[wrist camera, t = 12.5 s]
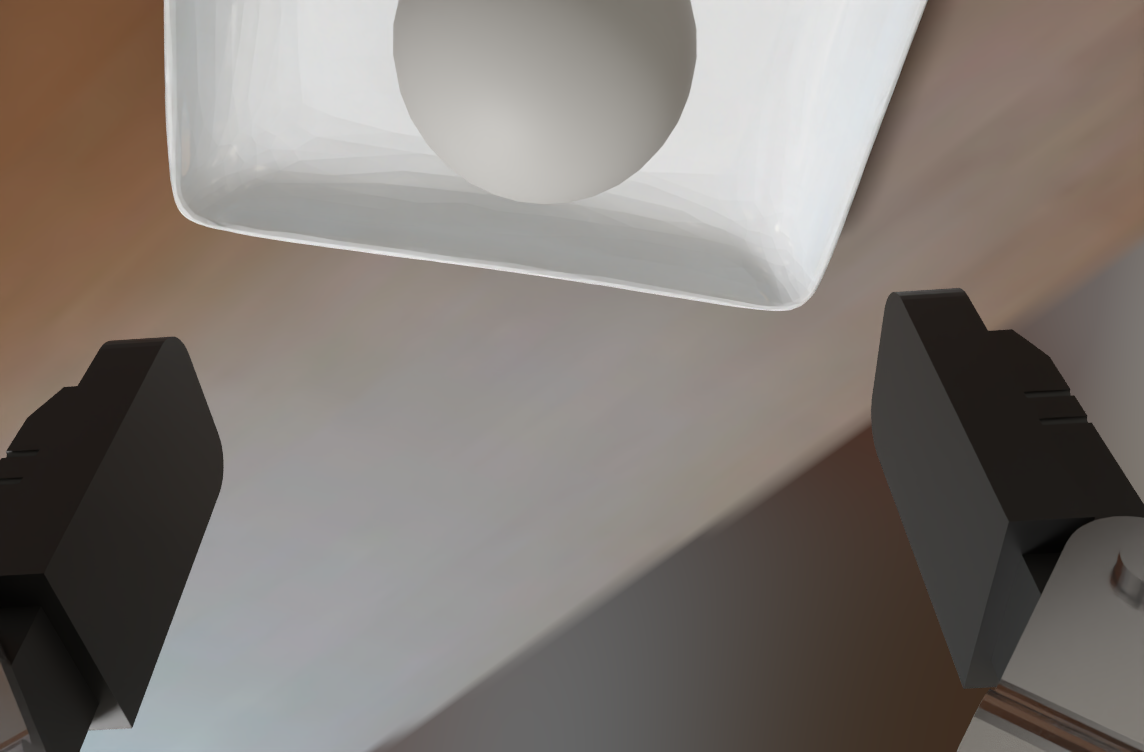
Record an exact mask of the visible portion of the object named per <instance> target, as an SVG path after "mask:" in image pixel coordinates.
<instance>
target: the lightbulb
mask: <svg viewBox="0 0 1144 752" xmlns="http://www.w3.org/2000/svg"><path fill="white" fill-rule="evenodd" d="M393 57H394V62H395V67H396V73H397V78H398V83H399V89H400V93H401V95H402V98H403V100H404V103H405V105H406V108H407V110H408V113H409V115H410V118H411V120H412V121H413V123H414V124H415V126H416V128H417V129H418V131H419V132H420V134H421V135H422V137H423V138H424V140H425V142H426V143H427V144H428V146H429V147H430V148H431V149H432V150H433V151H434V152H435V153H436V155H437V156H438V157H439V158H440V159H441V160H442V161H443V162H444V163H445V164H446V165H447V166H448V167H449V168H450V169H451V170H453V171H454V172H455V173H457V174H458V175H460V176H461V177H462V178H464V179H465V180H466V181H468V182H469V183H471V184H473V185H475V186H477V187H479V188H481V189H483V190H485V191H487V192H489V193H491V194H493V195H497V196H500V197H504V198H507V199H511V200H514V201H518V202H526V203H536V204H555V203H568V202H573V201H577V200H581V199H585V198H589V197H593V196H596V195H598V194H600V193H602V192H604V191H607V190H609V189H611V188H613V187H615V186H617V185H619V184H621V183H622V182H623V181H625V180H626V179H628V178H629V177H631V176H632V175H633V174H635V173H636V172H638V171H639V170H640V169H641V168H642V167H643V166H644V165H645V164H646V163H647V162H648V161H649V160H650V159H651V158H652V157H653V156H654V155H655V154H656V153H657V152H658V150H659V149H660V148H661V147H662V146H663V145H664V143H665V142H666V140H667V139H668V137H669V136H670V134H671V132H672V131H673V129H674V128H675V126H676V125H677V123H678V121H679V119H680V117H681V114H682V112H683V109H684V107H685V104H686V102H687V99H688V97H689V93H690V89H691V85H692V80H693V75H694V69H695V64H696V59H697V41H696V25H695V20H694V15H693V10H692V5H691V1H690V0H399V1H398V5H397V10H396V15H395V19H394V24H393Z"/></svg>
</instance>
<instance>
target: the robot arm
mask: <svg viewBox="0 0 1144 752" xmlns="http://www.w3.org/2000/svg"><path fill="white" fill-rule="evenodd" d="M871 419H872V431H873V438H874V444H875V448H876V451H877V455H878V457H879V460H880V463H881V466H882V469H883V471H884V474H885V477H886V479H887V482H888V485H889V488H890V490H891V493H892V496H893V498H894V501H895V504H896V506H897V509H898V512H899V514H900V517H901V520H902V523H903V525H904V528H905V531H906V534H907V536H908V539H909V542H910V544H911V547H912V550H913V553H914V555H915V558H916V560H917V563H918V566H919V569H920V572H921V574H922V577H923V579H924V582H925V585H926V587H927V591H928V593H929V596H930V598H931V601H932V604H933V607H934V610H935V612H936V615H937V617H938V620H939V623H940V626H941V629H942V631H943V634H944V637H945V639H946V642H947V645H948V647H949V650H950V653H951V656H952V658H953V661H954V664H955V666H956V669H957V672H958V675H959V677H960V680H961V683H962V685H963V688H964V689H965V688H984V687H997V688H996V689H995V691H993V690H991V689H990V690H989V691H988V692H987V693H986V695H985V696H984V698H983V700H982V702H981V703H980V705H979V707H978V709H977V711H976V713H975V715H974V717H973V719H972V721H971V723H970V725H969V727H968V730H967V732H966V734H965V736H964V738H963V740H962V742H961V744H960V746H959V748H958V750H957V752H1144V504H1143V502H1142V501H1141V499H1140V498H1139V496H1138V495H1137V493H1136V491H1135V490H1134V488H1133V487H1132V485H1131V484H1130V482H1129V480H1128V479H1127V478H1126V476H1125V474H1124V473H1123V471H1122V469H1121V468H1120V466H1119V465H1118V463H1117V462H1116V460H1115V459H1114V457H1113V455H1112V454H1111V453H1110V451H1109V449H1108V448H1107V446H1106V445H1105V443H1104V441H1103V440H1102V438H1101V437H1100V435H1099V433H1098V432H1097V430H1096V429H1095V427H1094V426H1093V424H1092V423H1088V422H1087V415H1086V413H1085V412H1084V410H1083V408H1082V407H1081V405H1080V404H1079V402H1078V401H1077V399H1076V398H1075V396H1071V395H1070V388H1069V386H1068V385H1067V383H1066V382H1065V380H1064V379H1063V377H1062V375H1061V374H1060V373H1059V371H1058V369H1057V368H1056V367H1055V365H1054V363H1053V361H1052V360H1051V358H1050V357H1049V356H1048V355H1046V354H1045V353H1044V352H1042V351H1041V350H1040V349H1038V348H1037V347H1036V346H1034V345H1033V344H1031V343H1030V342H1029V341H1027V340H1026V339H1025V338H1023V337H1022V336H1020V335H1019V334H1018V333H1016V332H1015V331H1014V330H997V331H988V330H987V328H986V327H985V325H984V323H983V321H982V320H981V318H980V316H979V314H978V313H977V311H976V309H975V308H974V306H973V304H972V302H971V301H970V299H969V297H968V295H967V294H966V293H965V291H964V290H962V289H960V288H952V289H936V290H921V291H905V292H892V293H891V294H890V295H889V297H888V299H887V302H886V305H885V310H884V317H883V324H882V331H881V338H880V345H879V352H878V359H877V366H876V374H875V381H874V388H873V395H872V406H871ZM6 453H7V457H6V458H2V459H1V460H0V752H80V749H81V747H82V744H83V742H84V739H85V737H86V734H87V732H88V730H106V729H125V728H132V727H133V724H134V722H135V719H136V716H137V713H138V711H139V708H140V705H141V703H142V700H143V697H144V695H145V692H146V689H147V687H148V684H149V681H150V678H151V676H152V673H153V670H154V668H155V665H156V662H157V660H158V657H159V654H160V652H161V649H162V646H163V643H164V641H165V638H166V635H167V633H168V630H169V627H170V625H171V622H172V619H173V616H174V614H175V611H176V608H177V606H178V603H179V600H180V598H181V595H182V592H183V590H184V587H185V584H186V581H187V579H188V576H189V573H190V571H191V568H192V565H193V563H194V560H195V557H196V555H197V552H198V549H199V546H200V544H201V541H202V538H203V536H204V533H205V530H206V528H207V525H208V522H209V520H210V517H211V514H212V511H213V509H214V506H215V503H216V501H217V498H218V495H219V492H220V489H221V485H222V479H223V452H222V445H221V441H220V438H219V434H218V432H217V429H216V426H215V424H214V421H213V418H212V416H211V413H210V410H209V407H208V405H207V402H206V399H205V397H204V394H203V391H202V389H201V386H200V383H199V380H198V378H197V375H196V372H195V370H194V367H193V364H192V362H191V359H190V356H189V354H188V351H187V349H186V347H185V346H184V344H183V343H182V342H181V340H179V339H178V338H176V337H160V338H145V339H129V340H114V341H108V342H106V343H105V344H103V345H102V347H101V348H100V349H99V351H98V353H97V355H96V356H95V358H94V360H93V361H92V363H91V365H90V366H89V368H88V370H87V371H86V373H85V375H84V376H83V378H82V380H81V381H80V383H79V385H78V386H74V387H64V388H63V389H61V390H60V391H59V392H58V393H57V394H55V395H54V396H53V397H52V398H51V399H49V400H48V401H47V402H46V403H45V404H43V405H42V406H41V407H40V408H39V409H37V410H36V411H35V412H34V413H33V414H31V415H30V416H29V417H28V418H27V419H26V421H25V422H24V424H23V426H22V427H21V429H20V430H19V432H18V433H17V435H16V437H15V438H14V440H13V441H12V443H11V444H10V446H9V448H8V449H7V451H6Z"/></svg>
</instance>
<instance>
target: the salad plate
mask: <svg viewBox="0 0 1144 752" xmlns="http://www.w3.org/2000/svg"><path fill="white" fill-rule="evenodd" d="M398 1H399V0H164V57H165V106H166V130H167V144H168V157H169V168H170V179H171V185H172V191H173V195H174V199H175V202H176V204H177V207H178V209H179V210H180V212H181V213H182V215H184V216H185V217H186V218H187V219H189V220H191V221H193V222H195V223H197V224H200V225H203V226H207V227H210V228H214V229H220V230H225V231H230V232H234V233H239V234H244V235H250V236H255V237H261V238H267V239H274V240H280V241H287V242H292V243H300V244H308V245H315V246H322V247H329V248H337V249H344V250H352V251H359V252H366V253H374V254H381V255H388V256H396V257H403V258H411V259H420V260H429V261H435V262H442V263H450V264H457V265H465V266H472V267H480V268H487V269H494V270H502V271H509V272H516V273H523V274H530V275H537V276H544V277H550V278H557V279H564V280H570V281H577V282H583V283H590V284H597V285H604V286H610V287H616V288H621V289H627V290H633V291H639V292H645V293H652V294H658V295H664V296H671V297H677V298H683V299H690V300H696V301H702V302H708V303H715V304H721V305H727V306H734V307H742V308H749V309H757V310H771V311H784V310H792V309H794V308H797V307H800V306H802V305H803V304H804V303H805V302H806V301H808V300H809V299H810V297H811V296H812V295H813V294H814V293H815V291H816V289H817V287H818V286H819V284H820V282H821V280H822V277H823V275H824V273H825V271H826V268H827V266H828V263H829V261H830V259H831V257H832V255H833V252H834V250H835V247H836V245H837V242H838V240H839V237H840V234H841V232H842V229H843V226H844V223H845V221H846V218H847V215H848V212H849V210H850V207H851V204H852V202H853V199H854V196H855V193H856V191H857V188H858V185H859V182H860V180H861V177H862V174H863V171H864V169H865V166H866V163H867V160H868V158H869V155H870V152H871V150H872V147H873V144H874V142H875V139H876V136H877V133H878V131H879V128H880V125H881V123H882V120H883V118H884V115H885V112H886V110H887V107H888V104H889V102H890V99H891V96H892V94H893V91H894V88H895V86H896V83H897V80H898V78H899V75H900V73H901V70H902V67H903V65H904V62H905V59H906V57H907V54H908V51H909V49H910V46H911V43H912V41H913V38H914V35H915V33H916V30H917V28H918V25H919V22H920V20H921V17H922V15H923V12H924V9H925V6H926V4H927V1H928V0H690V1H691V5H692V10H693V15H694V20H695V25H696V41H697V59H696V64H695V69H694V75H693V80H692V85H691V89H690V93H689V97H688V99H687V102H686V104H685V107H684V109H683V112H682V114H681V117H680V119H679V121H678V123H677V125H676V126H675V128H674V129H673V131H672V132H671V134H670V136H669V137H668V139H667V140H666V142H665V143H664V145H663V146H662V147H661V148H660V149H659V150H658V152H657V153H656V154H655V155H654V156H653V157H652V158H651V159H650V160H649V161H648V162H647V163H646V164H645V165H644V166H643V167H642V168H641V169H640V170H639V171H638V172H636V173H635V174H633V175H632V176H631V177H629V178H628V179H626V180H625V181H623V182H622V183H621V184H619V185H617V186H615V187H613V188H611V189H609V190H607V191H604V192H602V193H600V194H598V195H596V196H593V197H589V198H585V199H581V200H577V201H573V202H568V203H555V204H536V203H526V202H518V201H514V200H511V199H507V198H504V197H500V196H497V195H493V194H491V193H489V192H487V191H485V190H483V189H481V188H479V187H477V186H475V185H473V184H471V183H469V182H468V181H466V180H465V179H464V178H462V177H461V176H460V175H458V174H457V173H455V172H454V171H453V170H451V169H450V168H449V167H448V166H447V165H446V164H445V163H444V162H443V161H442V160H441V159H440V158H439V157H438V156H437V155H436V153H435V152H434V151H433V150H432V149H431V148H430V147H429V146H428V144H427V143H426V142H425V140H424V138H423V137H422V135H421V134H420V132H419V131H418V129H417V128H416V126H415V124H414V123H413V121H412V120H411V118H410V115H409V113H408V110H407V108H406V105H405V103H404V100H403V98H402V95H401V93H400V89H399V83H398V78H397V73H396V67H395V62H394V57H393V24H394V19H395V15H396V10H397V5H398Z"/></svg>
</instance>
